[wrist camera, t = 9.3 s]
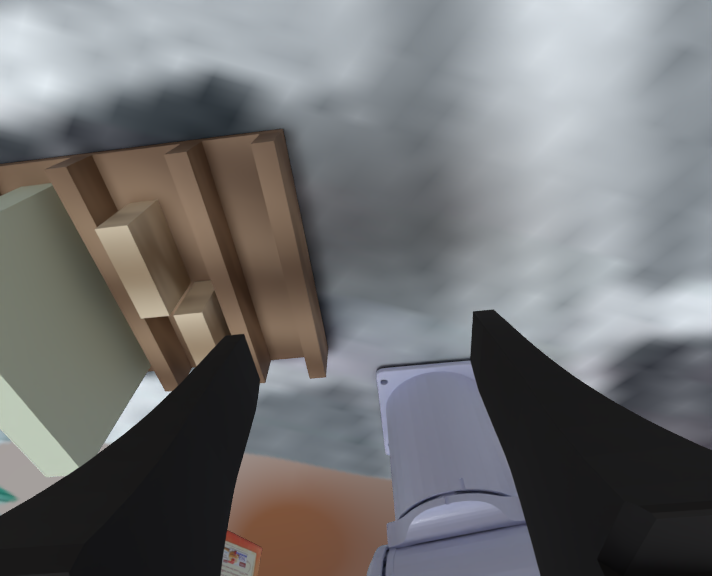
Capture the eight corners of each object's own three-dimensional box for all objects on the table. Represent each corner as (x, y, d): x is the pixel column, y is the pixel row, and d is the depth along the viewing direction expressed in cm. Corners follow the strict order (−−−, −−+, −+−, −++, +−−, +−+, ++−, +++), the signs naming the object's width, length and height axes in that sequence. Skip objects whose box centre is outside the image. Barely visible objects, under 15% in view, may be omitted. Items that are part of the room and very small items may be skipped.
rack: (328, 348, 26) (325, 377, 24) (105, 369, 27) (83, 398, 25) (282, 128, 19) (273, 140, 16) (-25, 167, 20) (-72, 184, 17)
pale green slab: (154, 360, 26) (84, 474, 19) (125, 362, 26) (46, 477, 19) (59, 181, 19) (-97, 259, 13) (20, 186, 19) (-155, 266, 13)
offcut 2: (243, 344, 25) (230, 382, 22) (220, 347, 25) (205, 384, 23) (219, 279, 22) (202, 312, 20) (194, 282, 23) (173, 315, 20)
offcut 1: (191, 282, 23) (169, 315, 20) (166, 285, 23) (141, 318, 20) (157, 199, 20) (126, 225, 17) (129, 203, 20) (94, 228, 17)
